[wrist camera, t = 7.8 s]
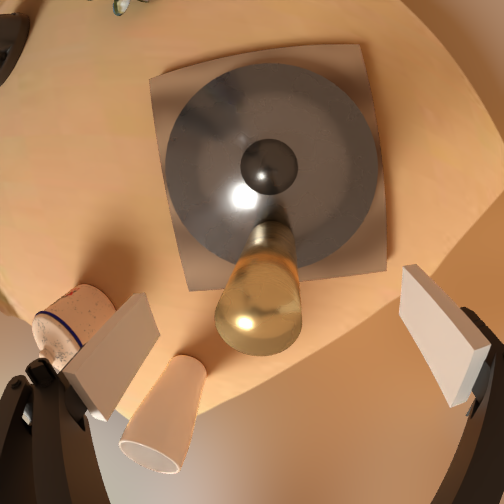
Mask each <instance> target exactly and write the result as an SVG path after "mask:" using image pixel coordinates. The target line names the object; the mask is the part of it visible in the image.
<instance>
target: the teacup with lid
mask: <svg viewBox="0 0 504 504" xmlns="http://www.w3.org/2000/svg"><path fill="white" fill-rule="evenodd" d="M115 312H116V310H115V308H114V306H113V304H112V303H111V301H110V300H109V299H108V297H107V296H106V295H105V294H104V293H103V292H102V291H100V290H99V289H97V288H96V287H94V286H91V285H88V284H81V285H78V286H76V287H75V288H73V289H72V290H71V291H69V292H68V293H66V294H65V295H64V296H62V297H61V298H60V299H58V300H57V301H56V302H54V303H53V304H52V305H50V306H49V307H48V308H47V309H45V310H44V311H40V312H38V313H37V314H36V315H35V317H34V319H33V322H32V331H33V335H34V338H35V341H36V343H37V345H38V347H39V349H40V352H39V357H40V358H47V359H48V360H49V362H50V363H51V365H53V366H54V367H56V368H57V369H58V370H60V371H61V370H62V369H63V367H64V366H65V365H66V364H67V363H68V362H69V361H70V359H71V358H73V356H74V355H75V354H76V353H77V352H78V351H79V349H80V348H81V347H82V346H83V345H84V344H85V343H87V342H88V341H89V340H90V339H91V338H92V337H93V336H94V335H95V334H96V333H97V331H98V330H99V329H100V328H101V327H102V326H103V325H104V324H105V323H106V322H107V321H108V320H109V319H110V318H111V316H112V315H113V314H114V313H115Z"/></svg>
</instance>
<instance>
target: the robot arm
mask: <svg viewBox="0 0 504 504" xmlns="http://www.w3.org/2000/svg"><path fill="white" fill-rule="evenodd" d="M28 31H29V17H28V16H27V15H25V14H22V13H11V14H1V15H0V86H1V85H2V84H3V83H4V81H5V80H6V79H7V77H8V76H9V74H10V72H11V71H12V69H13V67H14V66H15V64H16V62H17V60H18V58H19V56H20V53H21V51H22V49H23V46H24V44H25V41H26V38H27V35H28ZM399 315H400V317H401V319H402V320H403V322H404V323H405V325H406V327H407V329H408V330H409V332H410V334H411V335H412V337H413V339H414V340H415V342H416V344H417V346H418V347H419V349H420V351H421V353H422V354H423V356H424V358H425V360H426V362H427V364H428V365H429V367H430V369H431V371H432V373H433V375H434V377H435V378H436V380H437V382H438V384H439V386H440V388H441V390H442V392H443V394H444V396H445V398H446V400H447V402H448V404H449V406H450V408H451V407H454V406H456V405H459V404H461V403H464V402H466V401H467V399H468V397H469V395H470V393H471V391H472V392H473V394H474V395H475V397H476V398H475V400H474V401H473V403H472V405H471V407H470V409H469V411H468V412H467V414H466V416H468V415H469V417H468V420H467V423H466V426H465V429H464V432H463V435H462V437H461V440H460V443H459V445H458V448H457V450H456V453H455V455H454V458H453V460H452V462H451V465H450V467H449V469H448V471H447V473H446V475H445V477H444V480H443V481H442V483H441V485H440V487H439V489H438V491H437V493H436V495H435V497H434V498H433V501H432V502H431V504H499V503H500V500H501V497H502V494H503V492H504V344H502V343H501V341H500V340H499V339H498V338H497V337H496V336H495V334H494V333H493V332H492V331H491V330H490V329H489V328H488V326H485V323H484V322H483V321H482V320H480V318H479V317H478V316H477V315H476V314H475V312H473V311H472V310H470V309H468V308H466V307H461V308H459V307H458V306H457V305H456V303H455V302H454V301H453V300H452V299H451V298H450V297H449V296H448V295H447V294H446V293H445V292H444V291H443V290H442V289H441V288H440V287H439V286H438V285H437V284H436V283H435V282H434V281H433V280H432V279H431V278H430V277H429V276H428V275H427V274H426V273H425V272H424V271H423V270H422V269H421V268H420V267H419V266H418V265H417V264H414V265H407V266H403V273H402V287H401V299H400V309H399ZM159 336H160V333H159V331H158V328H157V325H156V323H155V320H154V317H153V314H152V311H151V309H150V306H149V303H148V300H147V297H146V294H145V293H134V294H133V295H132V296H131V297H130V298H129V299H128V300H127V301H126V302H125V303H124V304H123V305H122V306H121V307H120V308H119V309H118V310H117V311H116V312H115V313H114V314H113V315H112V316H111V318H110V319H109V320H108V321H107V322H106V323H105V324H104V325H103V326H102V327H101V328H100V329H99V330H98V331H97V333H96V334H95V335H94V336H93V337H92V338H91V339H90V340H89V341H88V342H87V343H85V344H84V345H83V346H82V347H81V348H80V349H79V351H78V352H77V353H76V354H75V355H74V356H73V358H71V359H70V361H69V362H68V363H67V364H66V365H65V366H64V367H63V369H62V370H61V371H60V372H59V373H58V374H57V373H56V372H55V370H54V368H53V367H52V365H51V363H50V362H49V360H48V359H47V358H38V359H36V360H34V361H33V362H32V363H30V364H29V365H28V366H27V368H26V370H25V372H26V373H27V375H28V376H29V378H30V379H31V381H32V382H33V384H30V383H29V382H28V380H27V379H26V377H25V376H23V375H19V376H15V377H13V378H12V379H11V380H10V381H9V383H8V384H7V386H6V389H5V390H4V393H3V395H2V397H1V400H0V504H111V503H110V501H109V498H108V495H107V492H106V489H105V486H104V483H103V480H102V476H101V473H100V469H99V466H98V462H97V458H96V455H95V450H94V446H93V442H92V437H91V432H90V428H89V422H88V419H87V417H86V415H85V412H86V411H87V409H88V410H89V412H90V413H91V414H92V416H93V417H94V418H96V419H99V420H103V421H108V419H109V418H110V416H111V414H112V413H113V411H114V409H115V408H116V406H117V404H118V403H119V401H120V399H121V398H122V396H123V394H124V393H125V391H126V389H127V388H128V386H129V384H130V383H131V381H132V380H133V378H134V376H135V375H136V373H137V371H138V370H139V368H140V367H141V365H142V363H143V362H144V360H145V359H146V357H147V355H148V354H149V352H150V351H151V349H152V347H153V346H154V344H155V343H156V341H157V340H158V338H159ZM23 413H24V414H25V416H26V417H27V418H28V419H29V420H30V423H29V425H28V424H27V423H26V422H25V421H24V420H23V419H22V415H23Z"/></svg>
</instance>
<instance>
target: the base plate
mask: <svg viewBox="0 0 504 504" xmlns="http://www.w3.org/2000/svg"><path fill="white" fill-rule="evenodd" d="M262 63H280V64H287V65H293V66H297V67H300V68H304V69H307V70H310V71H312V72H314V73H316V74H319V75H321V76H323V77H324V78H326V79H328V80H329V81H331V82H332V83H334V84H335V85H336V86H338V87H339V88H340V89H341V90H342V91H344V92H345V93H346V94H347V95H348V96H349V97H350V99H351V100H352V101H353V102H354V103H355V104H356V106H357V107H358V108H359V110H360V111H361V113H362V114H363V116H364V118H365V120H366V122H367V124H368V126H369V128H370V130H371V133H372V136H373V139H374V142H375V147H376V152H377V160H378V177H377V186H376V190H375V195H374V198H373V201H372V204H371V206H370V209H369V211H368V213H367V215H366V217H365V219H364V221H363V222H362V224H361V225H360V227H359V228H358V229H357V231H356V232H355V234H354V235H353V236H352V237H351V238H350V239H349V240H348V241H347V242H346V243H345V244H344V245H343V246H341V247H340V248H339V249H338V250H336V251H335V252H334V253H332V254H330V255H329V256H327V257H326V258H324V259H322V260H320V261H318V262H315V263H313V264H311V265H308V266H304V267H301V268H298V277H299V282H301V281H311V280H319V279H328V278H336V277H345V276H353V275H360V274H368V273H376V272H383V271H387V224H386V202H385V187H384V175H383V165H382V156H381V148H380V140H379V133H378V127H377V121H376V115H375V109H374V104H373V99H372V94H371V89H370V84H369V80H368V76H367V71H366V67H365V63H364V60H363V56H362V52H361V48H360V45H359V44H325V45H306V46H294V47H284V48H275V49H268V50H261V51H255V52H249V53H243V54H238V55H233V56H228V57H223V58H219V59H214V60H210V61H206V62H202V63H199V64H195V65H191V66H188V67H184V68H181V69H178V70H174V71H171V72H168V73H165V74H162V75H159V76H156V77H154V78H151V79H149V84H150V93H151V101H152V109H153V117H154V124H155V131H156V137H157V144H158V150H159V156H160V162H161V168H162V173H163V179H164V184H165V189H166V194H167V199H168V204H169V209H170V214H171V219H172V223H173V228H174V232H175V237H176V241H177V245H178V250H179V254H180V258H181V262H182V266H183V270H184V274H185V278H186V282H187V285H188V289H189V292H190V291H204V290H217V289H225V287H226V285H227V283H228V281H229V278H230V276H231V274H232V272H233V270H234V268H235V264H232V263H230V262H228V261H226V260H224V259H222V258H220V257H218V256H217V255H215V254H213V253H212V252H210V251H209V250H208V249H206V248H205V247H204V246H203V245H201V244H200V243H199V242H198V241H197V240H196V239H195V238H194V237H193V236H192V235H191V234H190V233H189V231H188V230H187V228H186V227H185V226H184V224H183V223H182V222H181V220H180V218H179V216H178V214H177V213H176V211H175V209H174V206H173V204H172V201H171V199H170V195H169V191H168V187H167V182H166V174H165V158H166V150H167V145H168V141H169V137H170V133H171V131H172V128H173V126H174V124H175V121H176V119H177V118H178V116H179V114H180V113H181V111H182V109H183V108H184V107H185V105H186V104H187V103H188V101H189V100H190V99H191V98H192V97H193V96H194V95H195V94H196V93H197V92H198V91H199V90H200V89H201V88H202V87H204V86H205V85H206V84H208V83H209V82H210V81H212V80H213V79H215V78H217V77H219V76H220V75H222V74H224V73H226V72H229V71H231V70H234V69H237V68H240V67H244V66H248V65H253V64H262Z"/></svg>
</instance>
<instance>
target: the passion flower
mask: <svg viewBox="0 0 504 504" xmlns="http://www.w3.org/2000/svg"><path fill="white" fill-rule="evenodd" d="M88 1H89V0H88ZM90 1H91V0H90ZM138 1H141V2H149V0H138ZM129 4H130V0H114V3H113V12H114V14H115V15H116V16H121V15H122V14H123V13H124V12H125V11H126V10H127V8H128V6H129Z"/></svg>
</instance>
